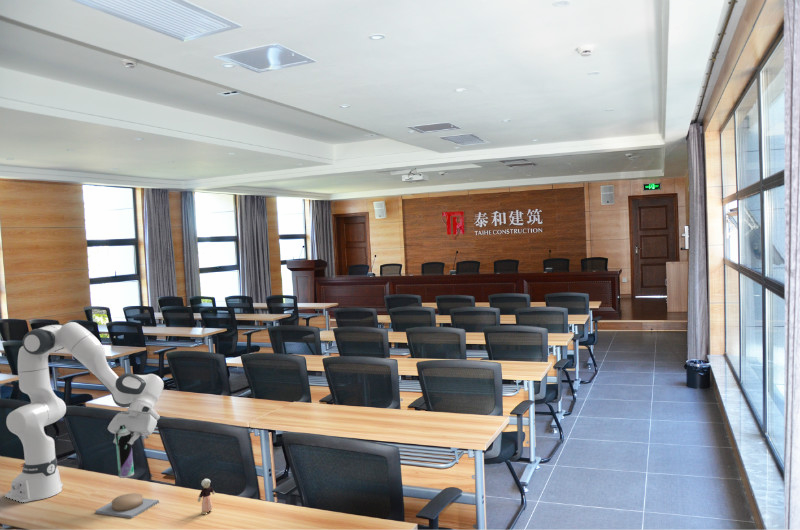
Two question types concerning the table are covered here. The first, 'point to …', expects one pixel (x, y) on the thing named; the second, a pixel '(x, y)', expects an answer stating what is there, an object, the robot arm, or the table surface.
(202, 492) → the grandmother figurine
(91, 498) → the table surface
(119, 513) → the display stand
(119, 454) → the spray can
